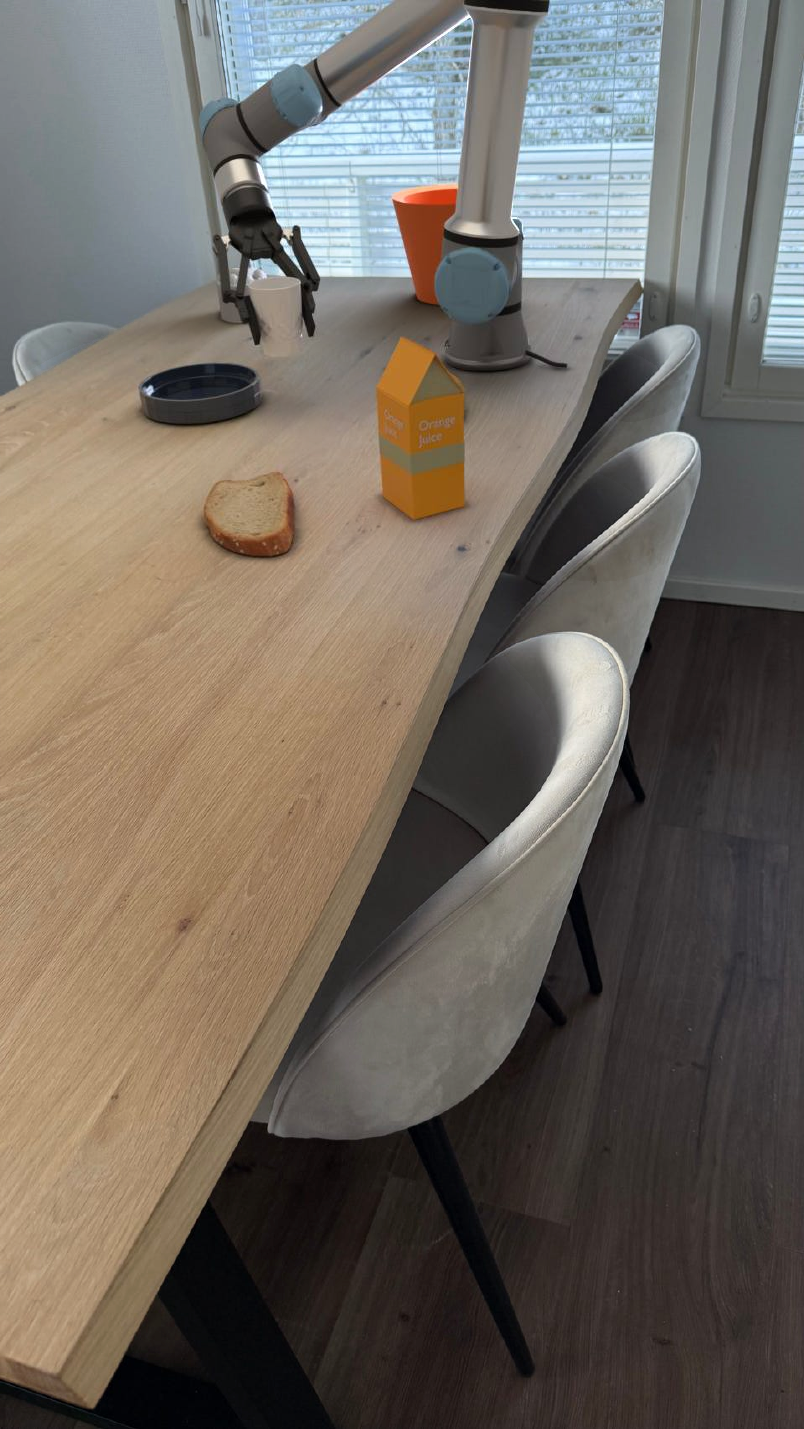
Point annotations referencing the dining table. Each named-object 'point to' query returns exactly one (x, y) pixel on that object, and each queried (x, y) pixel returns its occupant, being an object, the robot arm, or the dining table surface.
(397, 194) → the flowerpot
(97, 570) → the dining table surface
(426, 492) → the orange juice
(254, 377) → the plate
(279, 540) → the slice of bread
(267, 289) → the white cup
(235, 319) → the lumpy-topped squat cylinder
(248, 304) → the robot arm
